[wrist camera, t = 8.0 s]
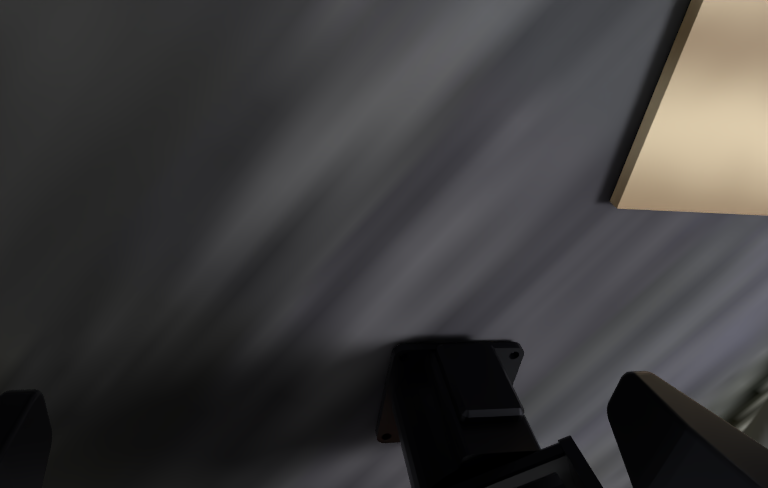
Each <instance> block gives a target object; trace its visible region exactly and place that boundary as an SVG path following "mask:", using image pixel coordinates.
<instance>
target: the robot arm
mask: <svg viewBox="0 0 768 488" xmlns="http://www.w3.org/2000/svg"><path fill="white" fill-rule="evenodd" d="M512 352H513V353H512ZM402 354H405V355H403V356H400V355H402ZM523 356H524V351H523V349H522V347H521V346H520V344H519V343H517V342H486V343H419V344H400V345H398V346H396V347H395V348H394V349H393V351H392V355H391V359H390V364H389V369H388V374H387V379H386V383H385V388H384V393H383V398H382V403H381V407H380V412H379V417H378V422H377V427H376V436H377V440H378V441H379V442H381V443H395V442H400V443H401V447H402V451H403V455H404V459H405V463H406V467H407V471H408V476H409V480H410V484H411V488H603V487H602V485H601V484H600V482H599V480H598V479H597V477H596V476H595V474H594V472H593V471H592V469H591V468H590V466H589V464H588V463H587V461H586V460H585V458H584V456H583V455H582V453H581V452H580V450H579V448H578V447H577V445H576V444H575V442H574V440H573V439H572V437H571V436H567V437H565V438H562V439H560V440H558V442H559V443H556V444H554V445H551V446H549V447H546V448H544V449H541V448H540V446H539V444H538V442H537V440H536V438H535V436H534V434H533V432H532V429H531V427H530V425H529V423H528V421H527V419H526V417H525V415H524V408H523V406H522V404H521V402H520V400H519V398H518V396H517V394H516V392H515V390H514V388H513V386H512V385H513V382H514V380H515V377H516V374H517V372H518V369H519V366H520V364H521V361H522V358H523ZM607 415H608V419H609V422H610V425H611V428H612V430H613V433H614V436H615V439H616V442H617V444H618V447H619V450H620V453H621V455H622V458H623V461H624V464H625V467H626V469H627V472H628V475H629V478H630V480H631V483H632V486H633V488H768V449H767V448H765V447H764V446H762V445H761V444H759V443H758V442H756V441H755V440H753V439H752V438H750V437H749V436H747V435H746V434H744V433H743V432H741V431H740V430H738V429H737V428H735V427H734V426H732V425H731V424H729V423H728V422H726V421H724V420H723V419H721V418H720V417H718V416H717V415H715V414H714V413H712V412H711V411H709V410H708V409H706V408H705V407H703V406H702V405H700V404H699V403H697V402H696V401H694V400H693V399H691V398H689V397H688V396H686V395H685V394H683V393H682V392H680V391H679V390H677V389H676V388H674V387H673V386H671V385H670V384H668V383H667V382H665V381H664V380H662V379H661V378H659V377H658V376H656V375H655V374H653V373H651V372H647V371H632V372H626V373H625V374H624V375H623V376H622V377H621V379H620V381H619V383H618V385H617V387H616V389H615V391H614V393H613V395H612V397H611V398H610V400H609V403H608V406H607ZM51 442H52V429H51V425H50V420H49V416H48V412H47V408H46V404H45V400H44V396H43V394H42V393H41V392H40V391H39V390H10V391H6V392H4V393H3V394H1V395H0V488H42V483H43V479H44V475H45V470H46V466H47V461H48V457H49V453H50V448H51Z"/></svg>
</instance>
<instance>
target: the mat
mask: <svg viewBox="0 0 768 488" xmlns="http://www.w3.org/2000/svg"><path fill="white" fill-rule="evenodd" d="M610 202H611V203H612V204H613V205H614V206H615V207H616V208H619V209H640V210H662V211H684V212H705V213H727V214H749V215H768V0H691V2H690V4H689V7H688V9H687V12H686V14H685V17H684V19H683V22H682V24H681V27H680V29H679V32H678V34H677V36H676V39H675V41H674V44H673V46H672V49H671V51H670V54H669V56H668V59H667V61H666V64H665V66H664V69H663V71H662V74H661V76H660V79H659V81H658V83H657V86H656V88H655V91H654V93H653V96H652V98H651V101H650V103H649V106H648V108H647V111H646V113H645V116H644V118H643V121H642V123H641V125H640V128H639V130H638V133H637V135H636V138H635V140H634V143H633V145H632V148H631V150H630V153H629V155H628V158H627V160H626V163H625V165H624V167H623V170H622V172H621V175H620V177H619V180H618V182H617V185H616V187H615V190H614V192H613V195H612V197H611V200H610Z"/></svg>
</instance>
